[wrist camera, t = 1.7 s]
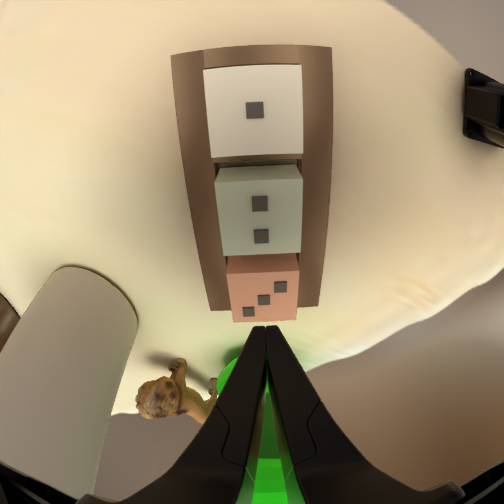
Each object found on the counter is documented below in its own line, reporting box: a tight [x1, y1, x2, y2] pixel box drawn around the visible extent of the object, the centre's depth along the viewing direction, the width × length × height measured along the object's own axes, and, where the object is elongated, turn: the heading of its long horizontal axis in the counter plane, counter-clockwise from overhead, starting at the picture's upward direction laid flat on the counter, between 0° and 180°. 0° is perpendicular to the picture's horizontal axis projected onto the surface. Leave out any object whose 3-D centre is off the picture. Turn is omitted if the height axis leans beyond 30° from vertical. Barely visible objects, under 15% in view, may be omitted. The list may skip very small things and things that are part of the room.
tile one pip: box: [203, 65, 303, 158], centre depth 14 cm, size 5×5×3 cm
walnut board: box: [171, 45, 333, 311], centre depth 19 cm, size 10×21×2 cm, turn 3°
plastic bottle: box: [216, 354, 288, 504], centre depth 22 cm, size 10×10×25 cm
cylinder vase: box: [0, 267, 138, 499], centre depth 17 cm, size 12×12×25 cm
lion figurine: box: [135, 358, 218, 424], centre depth 31 cm, size 15×5×9 cm, turn 45°
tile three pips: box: [226, 253, 299, 322], centre depth 21 cm, size 5×5×3 cm
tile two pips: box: [214, 165, 303, 256], centre depth 17 cm, size 5×5×3 cm
